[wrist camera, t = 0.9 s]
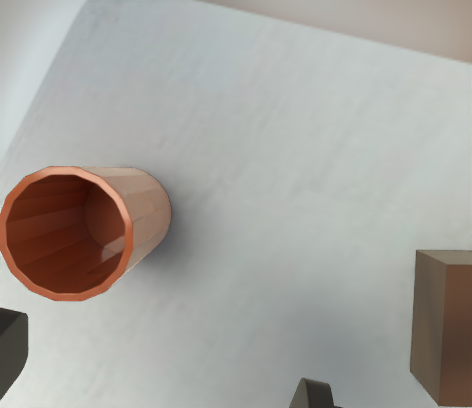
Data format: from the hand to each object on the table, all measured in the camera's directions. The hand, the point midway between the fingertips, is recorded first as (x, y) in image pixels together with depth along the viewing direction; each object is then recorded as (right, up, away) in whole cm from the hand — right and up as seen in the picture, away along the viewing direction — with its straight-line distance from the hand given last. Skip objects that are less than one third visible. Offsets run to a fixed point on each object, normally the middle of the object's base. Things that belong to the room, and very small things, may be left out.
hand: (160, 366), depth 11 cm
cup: (-6, +4, +16) cm, 17 cm away
